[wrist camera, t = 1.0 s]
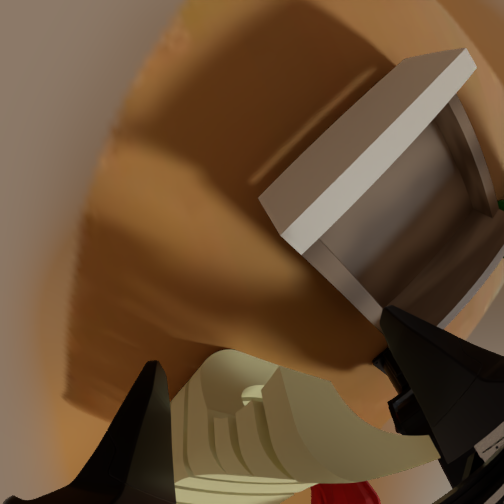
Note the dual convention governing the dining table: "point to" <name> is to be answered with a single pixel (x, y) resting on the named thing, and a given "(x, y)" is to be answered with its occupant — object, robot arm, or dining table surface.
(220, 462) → the slatted curved stool
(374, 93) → the panel
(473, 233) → the brown open box
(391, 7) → the dining table surface
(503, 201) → the milk carton
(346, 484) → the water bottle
